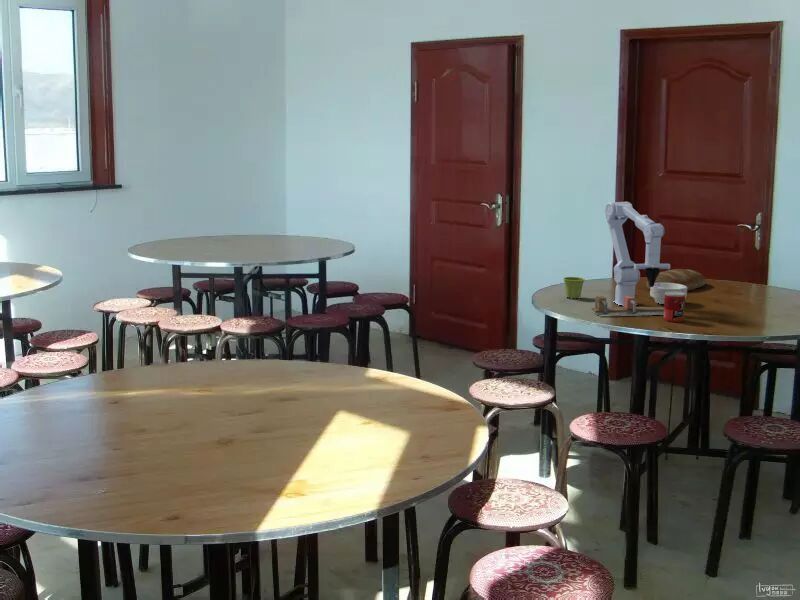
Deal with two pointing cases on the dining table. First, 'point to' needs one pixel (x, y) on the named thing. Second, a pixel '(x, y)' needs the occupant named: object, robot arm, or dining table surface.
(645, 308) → the gauge beam
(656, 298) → the paper bowls
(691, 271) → the bread
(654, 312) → the hole plate
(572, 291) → the plant pot
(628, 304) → the sliding leg
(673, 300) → the canned food
